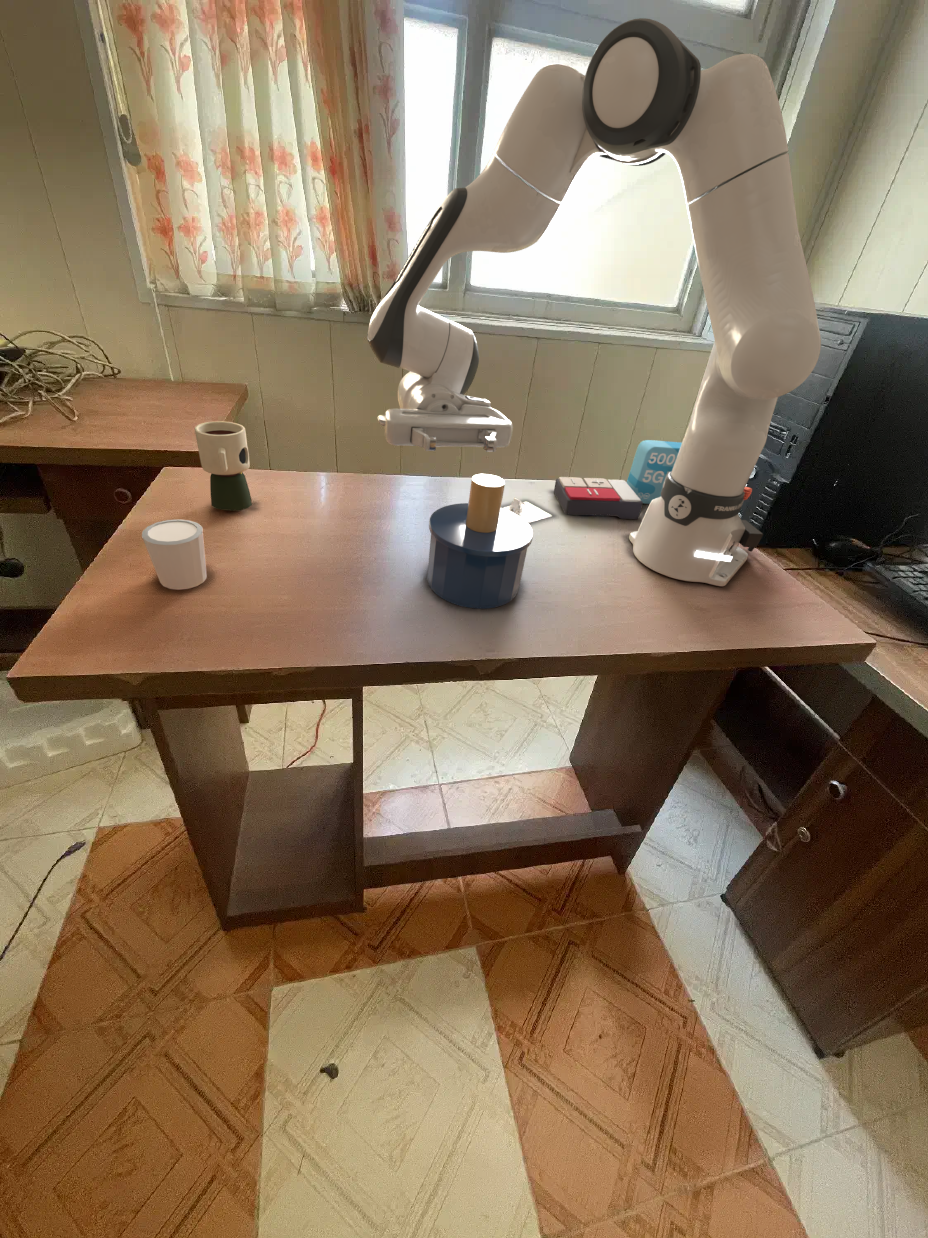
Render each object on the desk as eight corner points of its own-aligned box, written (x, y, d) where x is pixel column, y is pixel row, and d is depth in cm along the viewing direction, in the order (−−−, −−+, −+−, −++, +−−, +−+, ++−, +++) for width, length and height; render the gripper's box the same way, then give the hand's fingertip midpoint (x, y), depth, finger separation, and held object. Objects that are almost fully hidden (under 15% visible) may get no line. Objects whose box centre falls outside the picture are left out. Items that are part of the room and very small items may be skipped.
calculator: (556, 474, 107) (626, 477, 109) (552, 494, 110) (621, 496, 111) (568, 496, 98) (645, 499, 100) (564, 517, 101) (639, 519, 102)
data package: (630, 503, 109) (648, 446, 102) (622, 494, 113) (639, 438, 106) (682, 506, 111) (703, 450, 104) (672, 497, 115) (693, 442, 108)
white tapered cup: (159, 597, 66) (145, 548, 61) (150, 570, 70) (137, 523, 66) (217, 585, 69) (208, 538, 65) (205, 560, 73) (196, 515, 69)
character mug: (256, 520, 84) (245, 440, 77) (207, 522, 82) (191, 439, 74) (254, 492, 92) (245, 417, 85) (210, 493, 90) (196, 416, 82)
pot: (477, 551, 85) (485, 503, 80) (536, 591, 77) (548, 540, 72) (409, 572, 77) (413, 520, 72) (467, 619, 69) (475, 564, 64)
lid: (484, 504, 81) (492, 454, 76) (552, 545, 72) (565, 491, 68) (407, 523, 72) (411, 468, 68) (474, 571, 64) (483, 512, 60)
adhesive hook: (506, 512, 98) (509, 496, 96) (516, 509, 100) (519, 494, 98) (517, 518, 97) (520, 503, 95) (527, 516, 98) (530, 500, 96)
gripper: (375, 394, 81) (392, 422, 71) (497, 399, 88) (529, 426, 77) (374, 434, 85) (391, 466, 75) (491, 437, 91) (521, 467, 81)
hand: (462, 446), depth 76 cm, fingers open, 8 cm apart
